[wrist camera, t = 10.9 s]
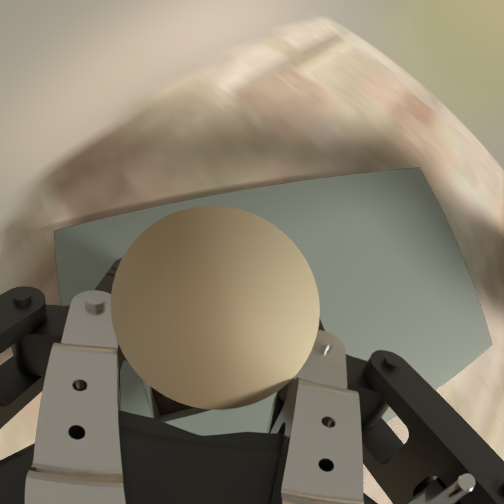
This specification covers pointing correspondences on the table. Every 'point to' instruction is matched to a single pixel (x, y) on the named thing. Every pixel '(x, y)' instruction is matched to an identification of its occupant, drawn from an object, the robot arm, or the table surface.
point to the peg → (215, 307)
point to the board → (324, 277)
